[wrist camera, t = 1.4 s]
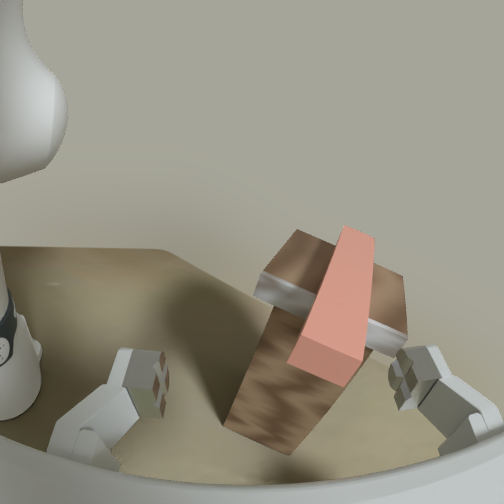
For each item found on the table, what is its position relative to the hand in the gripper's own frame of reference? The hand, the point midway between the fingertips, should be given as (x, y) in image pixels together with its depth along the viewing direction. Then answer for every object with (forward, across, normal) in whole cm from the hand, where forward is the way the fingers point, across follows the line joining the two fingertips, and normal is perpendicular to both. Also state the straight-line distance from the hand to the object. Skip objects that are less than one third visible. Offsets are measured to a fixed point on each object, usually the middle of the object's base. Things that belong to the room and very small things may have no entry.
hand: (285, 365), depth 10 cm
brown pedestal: (+18, -3, +34) cm, 38 cm away
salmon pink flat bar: (+15, -7, +9) cm, 19 cm away
